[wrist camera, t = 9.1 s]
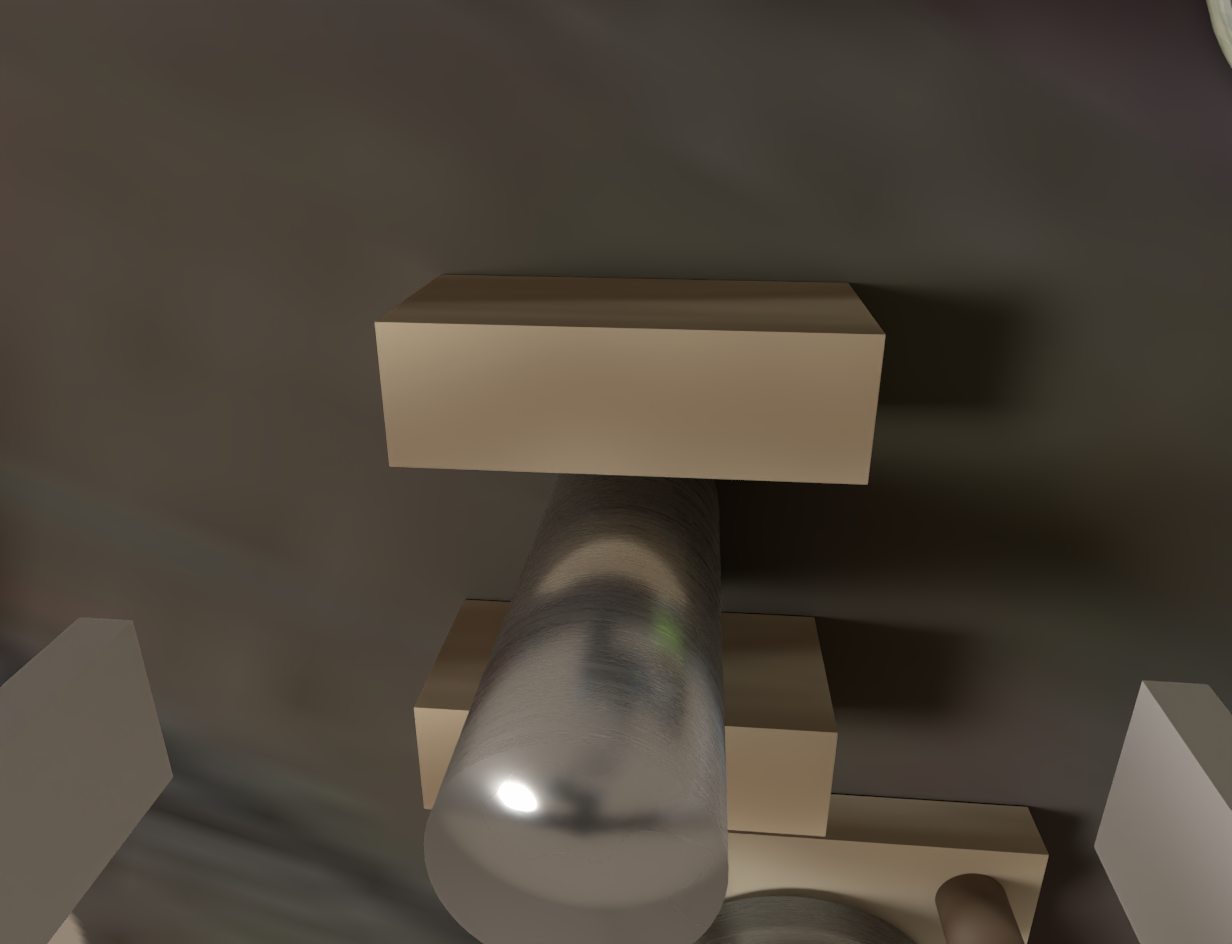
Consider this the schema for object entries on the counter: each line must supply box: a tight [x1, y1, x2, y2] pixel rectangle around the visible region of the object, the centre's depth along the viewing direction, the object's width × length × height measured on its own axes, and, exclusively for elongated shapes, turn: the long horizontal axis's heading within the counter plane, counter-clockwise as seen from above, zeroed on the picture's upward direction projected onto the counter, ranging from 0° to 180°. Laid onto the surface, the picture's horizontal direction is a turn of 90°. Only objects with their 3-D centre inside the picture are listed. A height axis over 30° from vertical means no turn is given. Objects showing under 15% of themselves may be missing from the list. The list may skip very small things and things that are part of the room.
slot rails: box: [375, 274, 886, 837], centre depth 18 cm, size 10×8×4 cm
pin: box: [424, 473, 729, 944], centre depth 15 cm, size 4×4×10 cm
